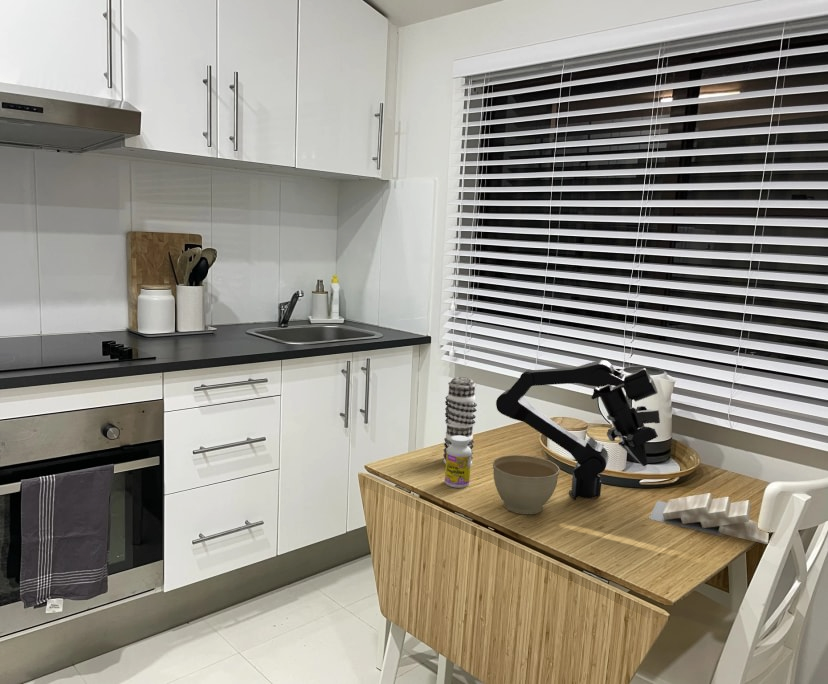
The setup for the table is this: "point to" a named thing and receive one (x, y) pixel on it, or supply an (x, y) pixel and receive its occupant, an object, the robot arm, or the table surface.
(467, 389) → the decorative candle
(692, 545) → the table surface
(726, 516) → the domino
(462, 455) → the supplement bottle
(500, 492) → the planter bowl
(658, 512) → the board
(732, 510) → the domino
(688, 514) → the domino
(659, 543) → the table surface
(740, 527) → the domino
